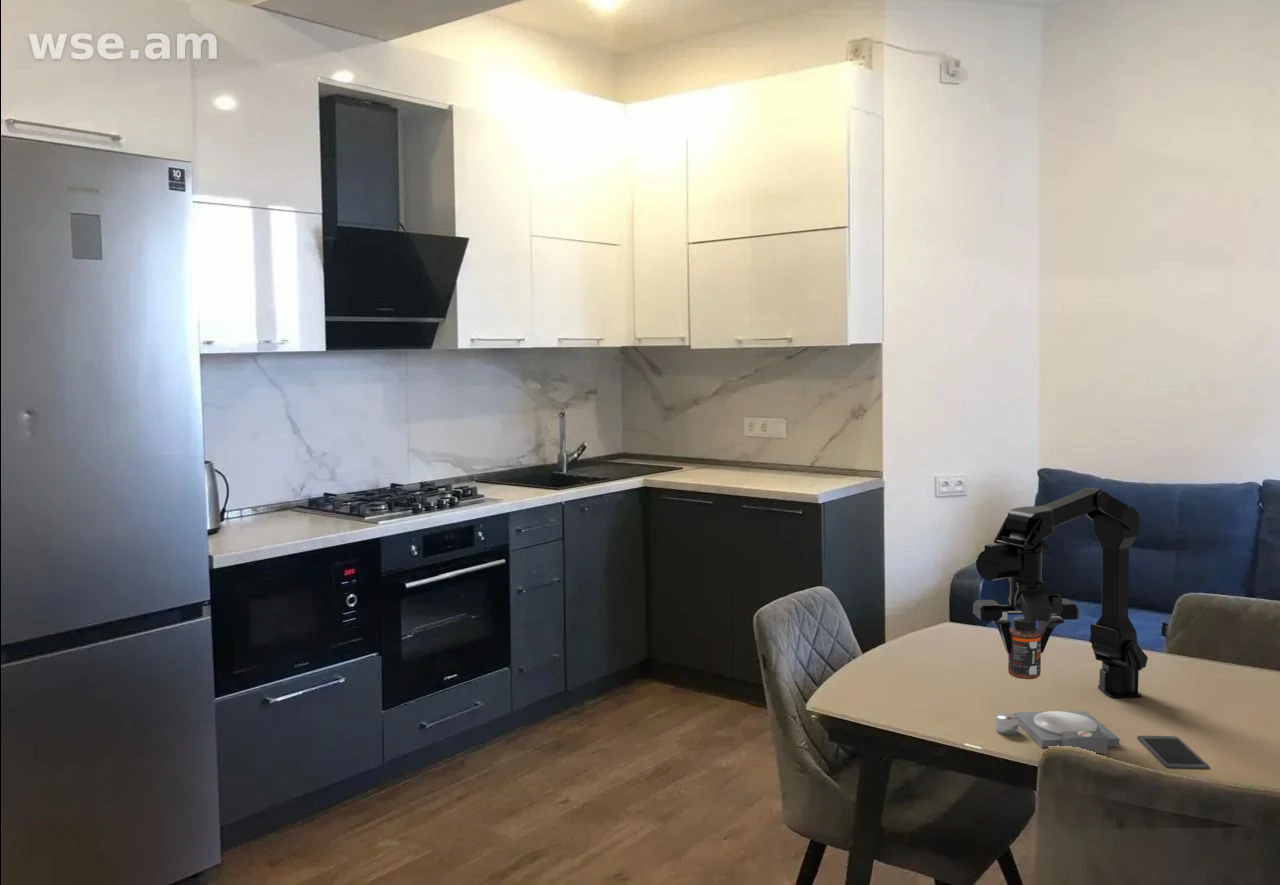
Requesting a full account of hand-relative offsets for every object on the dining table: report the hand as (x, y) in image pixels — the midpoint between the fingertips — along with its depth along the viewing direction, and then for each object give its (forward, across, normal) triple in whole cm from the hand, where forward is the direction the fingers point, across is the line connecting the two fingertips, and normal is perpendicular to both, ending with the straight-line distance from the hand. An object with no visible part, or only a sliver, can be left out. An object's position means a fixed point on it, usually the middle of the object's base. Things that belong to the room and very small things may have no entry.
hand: (1024, 652), depth 200 cm
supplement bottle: (+5, 0, 0) cm, 5 cm away
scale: (+13, +5, -10) cm, 17 cm away
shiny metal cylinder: (+13, -6, -8) cm, 16 cm away
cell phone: (+14, +20, -18) cm, 30 cm away
